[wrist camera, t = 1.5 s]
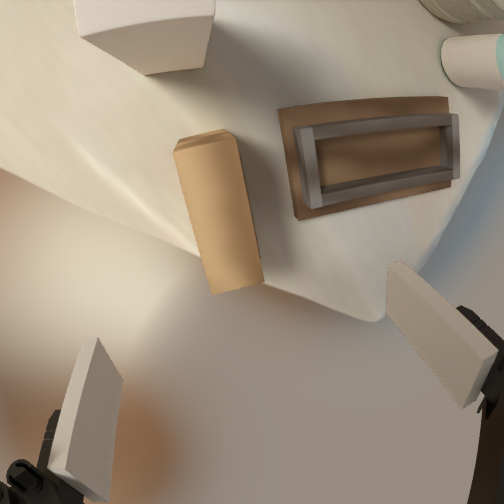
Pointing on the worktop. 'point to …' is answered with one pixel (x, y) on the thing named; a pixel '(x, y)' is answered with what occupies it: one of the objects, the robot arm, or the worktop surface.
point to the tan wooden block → (219, 209)
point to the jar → (465, 10)
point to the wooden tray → (368, 151)
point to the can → (475, 61)
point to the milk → (148, 31)
